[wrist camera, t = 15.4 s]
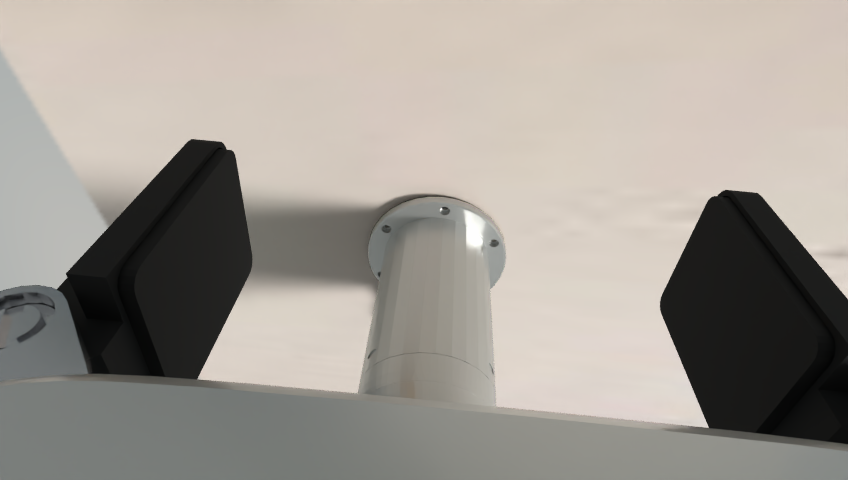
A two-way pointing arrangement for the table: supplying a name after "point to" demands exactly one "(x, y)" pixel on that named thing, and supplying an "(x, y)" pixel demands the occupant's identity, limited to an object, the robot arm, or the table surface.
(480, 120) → the table surface
